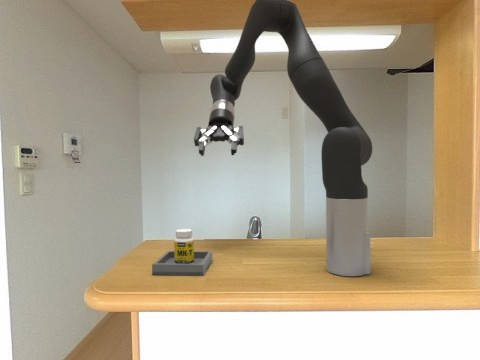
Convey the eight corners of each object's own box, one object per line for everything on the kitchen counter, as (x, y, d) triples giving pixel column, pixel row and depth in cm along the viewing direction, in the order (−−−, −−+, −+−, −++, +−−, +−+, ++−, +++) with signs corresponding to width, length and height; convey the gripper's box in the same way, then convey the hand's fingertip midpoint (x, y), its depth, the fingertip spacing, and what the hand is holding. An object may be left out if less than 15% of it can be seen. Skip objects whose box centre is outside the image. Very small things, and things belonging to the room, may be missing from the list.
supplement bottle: (175, 267, 80) (174, 232, 80) (173, 262, 85) (173, 229, 85) (195, 265, 82) (194, 231, 81) (192, 260, 86) (192, 227, 86)
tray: (212, 260, 89) (212, 251, 89) (203, 275, 77) (203, 264, 77) (167, 260, 90) (167, 250, 90) (152, 275, 78) (151, 264, 78)
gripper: (197, 108, 102) (189, 143, 91) (244, 106, 100) (241, 142, 89) (201, 127, 107) (194, 163, 96) (245, 126, 106) (243, 162, 95)
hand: (217, 153), depth 93 cm, fingers open, 8 cm apart
